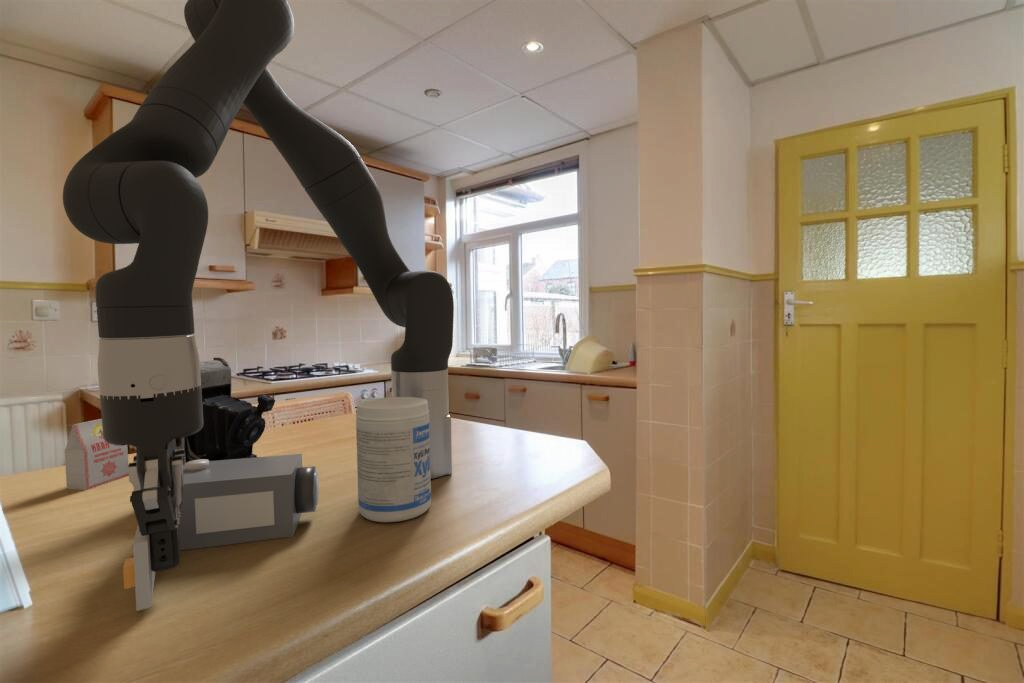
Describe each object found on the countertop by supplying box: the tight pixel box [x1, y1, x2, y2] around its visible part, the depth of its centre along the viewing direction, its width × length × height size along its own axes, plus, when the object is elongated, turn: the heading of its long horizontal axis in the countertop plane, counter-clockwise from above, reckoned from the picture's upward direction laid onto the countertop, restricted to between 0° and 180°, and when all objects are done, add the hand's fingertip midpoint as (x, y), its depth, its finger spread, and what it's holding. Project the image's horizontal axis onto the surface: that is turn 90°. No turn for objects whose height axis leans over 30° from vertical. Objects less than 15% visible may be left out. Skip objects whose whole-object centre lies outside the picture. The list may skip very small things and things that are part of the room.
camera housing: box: [178, 453, 320, 551], centre depth 60 cm, size 16×9×8 cm, turn 106°
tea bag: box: [64, 418, 129, 491], centre depth 77 cm, size 4×7×10 cm, turn 169°
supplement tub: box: [355, 396, 432, 523], centre depth 65 cm, size 10×10×15 cm
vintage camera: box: [176, 357, 276, 463], centre depth 73 cm, size 10×16×20 cm, turn 78°
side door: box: [122, 525, 156, 612], centre depth 48 cm, size 13×2×6 cm, turn 34°
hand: (166, 566), depth 46 cm, fingers closed
